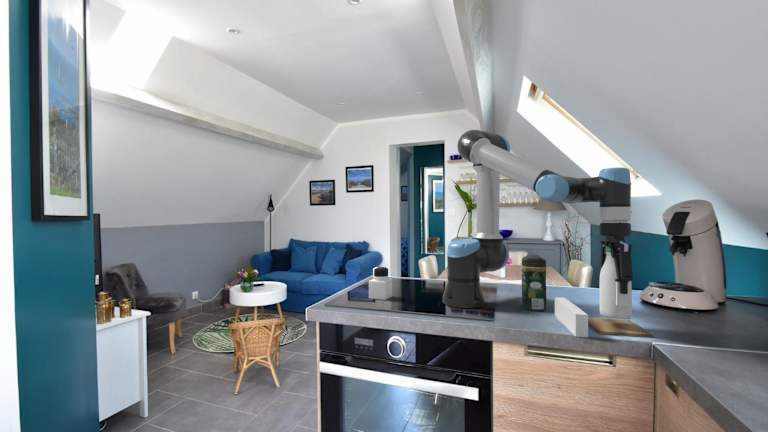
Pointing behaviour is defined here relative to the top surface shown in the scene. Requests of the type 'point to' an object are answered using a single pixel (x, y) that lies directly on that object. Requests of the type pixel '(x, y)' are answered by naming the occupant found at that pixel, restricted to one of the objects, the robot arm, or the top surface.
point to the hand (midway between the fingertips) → (615, 301)
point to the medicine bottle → (380, 284)
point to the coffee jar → (534, 283)
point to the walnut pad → (618, 327)
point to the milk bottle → (612, 291)
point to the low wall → (571, 317)
